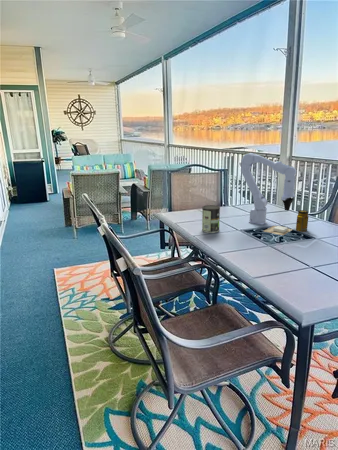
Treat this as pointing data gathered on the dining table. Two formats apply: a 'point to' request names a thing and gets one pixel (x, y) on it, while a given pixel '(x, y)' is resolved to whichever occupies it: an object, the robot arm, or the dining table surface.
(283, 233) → the mat
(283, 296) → the dining table surface
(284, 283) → the dining table surface
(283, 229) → the block
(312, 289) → the dining table surface
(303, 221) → the condiment
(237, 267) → the dining table surface
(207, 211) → the coffee can
